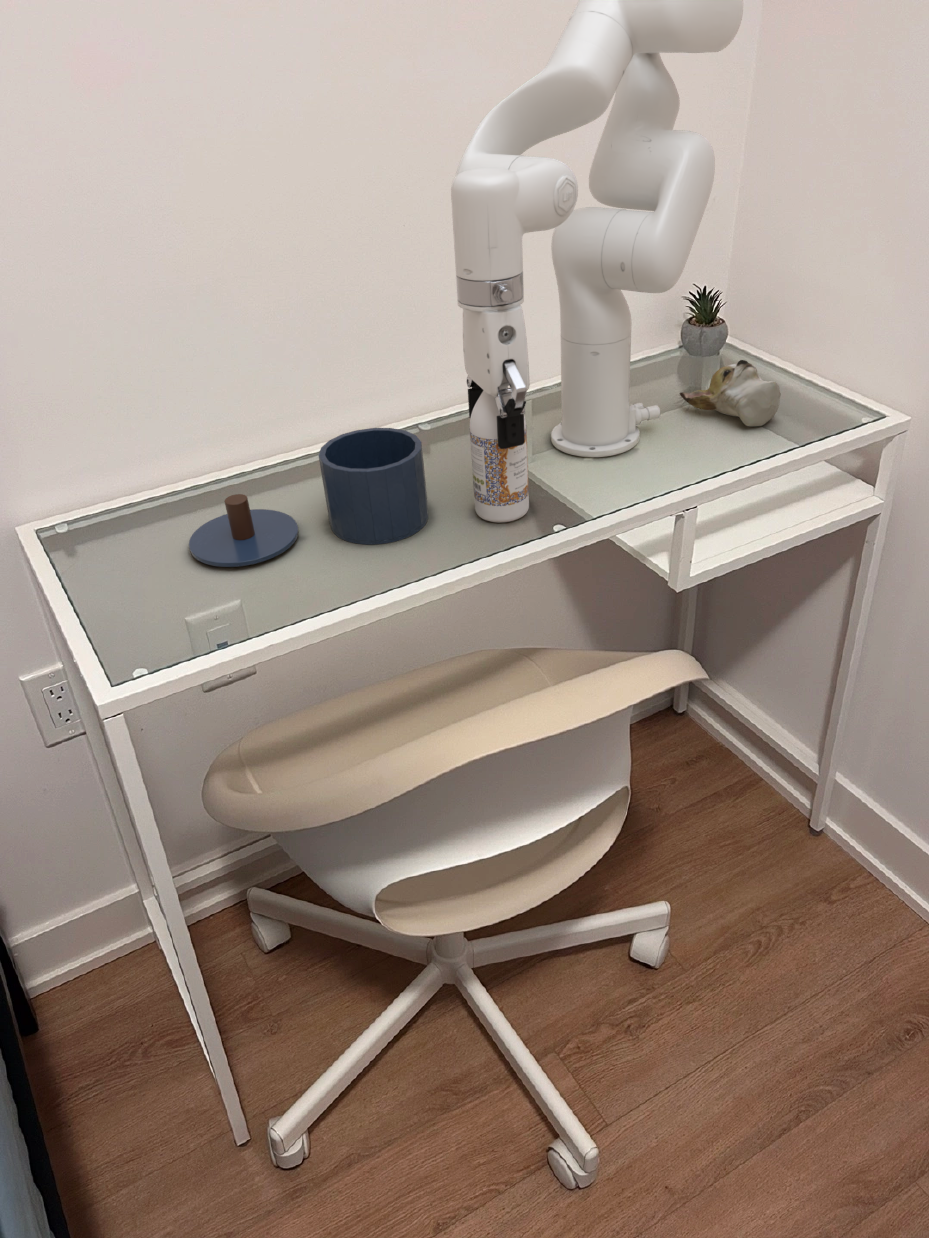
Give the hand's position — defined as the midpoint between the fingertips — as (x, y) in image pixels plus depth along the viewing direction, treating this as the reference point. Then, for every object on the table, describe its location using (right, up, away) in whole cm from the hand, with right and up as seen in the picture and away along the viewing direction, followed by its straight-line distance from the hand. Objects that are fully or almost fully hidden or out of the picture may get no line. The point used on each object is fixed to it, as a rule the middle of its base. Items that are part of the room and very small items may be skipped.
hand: (496, 431), depth 123 cm
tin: (-15, -10, +7) cm, 19 cm away
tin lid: (-31, -13, +4) cm, 34 cm away
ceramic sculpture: (+36, +7, +26) cm, 45 cm away
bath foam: (+1, -9, +7) cm, 11 cm away
